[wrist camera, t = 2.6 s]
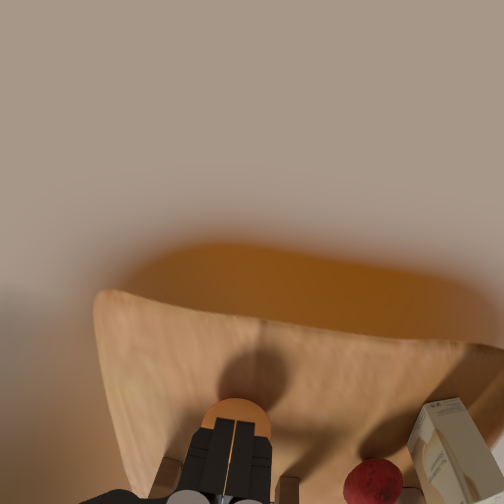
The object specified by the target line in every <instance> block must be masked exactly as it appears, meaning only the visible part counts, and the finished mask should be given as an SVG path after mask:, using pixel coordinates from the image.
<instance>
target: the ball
mask: <svg viewBox="0 0 504 504" xmlns="http://www.w3.org/2000/svg"><path fill="white" fill-rule="evenodd" d="M217 417H221V418H227V419H233V420H235V425H234V432H233V439H232V445H231V452H230V457H229V463H230V458H231V453H232V447H233V441H234V435H235V429H236V423H237V420H240V421H247V422H255V434H254V435H255V436H263V437H268V440H269V442H270V439H271V432H272V431H271V424H270V420H269V418H268V416H267V414H266V413H265V412H264V410H263V409H262V408H261V407H259V406H258V405H257V404H255V403H254V402H251V401H249V400H246V399H241V398H230V399H226V400H223V401H220V402H218V403H217V404H215V405H213V406H212V407H211V408H210V409H209V410H208V411H207V413H206V414H205V416H204V418H203V421H202V425H201V427H204V428H209V429H214V426H215V421H216V418H217Z"/></svg>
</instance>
